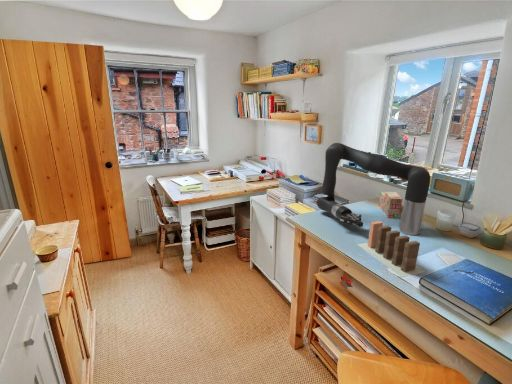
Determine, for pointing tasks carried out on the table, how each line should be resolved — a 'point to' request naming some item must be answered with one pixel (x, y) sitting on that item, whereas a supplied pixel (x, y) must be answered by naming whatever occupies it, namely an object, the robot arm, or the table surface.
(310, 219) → the table surface
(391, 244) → the domino
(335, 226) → the table surface
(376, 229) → the loose domino
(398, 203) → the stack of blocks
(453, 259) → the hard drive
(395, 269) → the domino mat
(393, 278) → the table surface
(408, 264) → the domino
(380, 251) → the domino
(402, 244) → the domino
